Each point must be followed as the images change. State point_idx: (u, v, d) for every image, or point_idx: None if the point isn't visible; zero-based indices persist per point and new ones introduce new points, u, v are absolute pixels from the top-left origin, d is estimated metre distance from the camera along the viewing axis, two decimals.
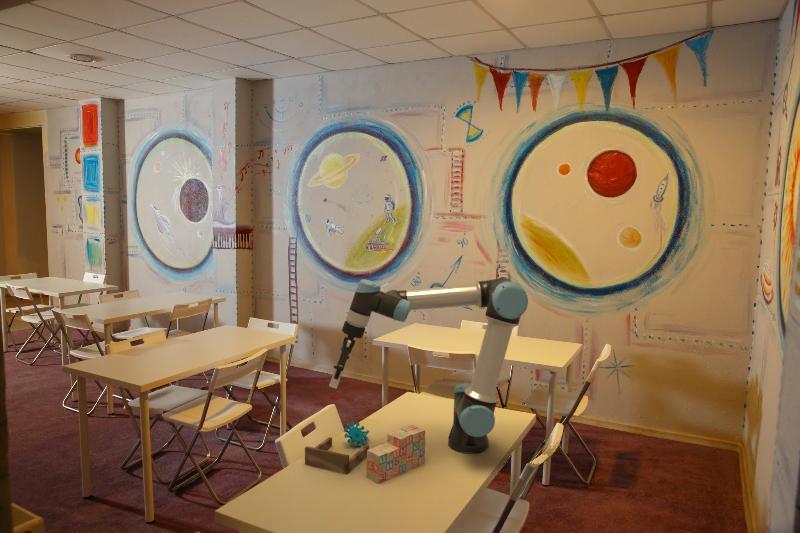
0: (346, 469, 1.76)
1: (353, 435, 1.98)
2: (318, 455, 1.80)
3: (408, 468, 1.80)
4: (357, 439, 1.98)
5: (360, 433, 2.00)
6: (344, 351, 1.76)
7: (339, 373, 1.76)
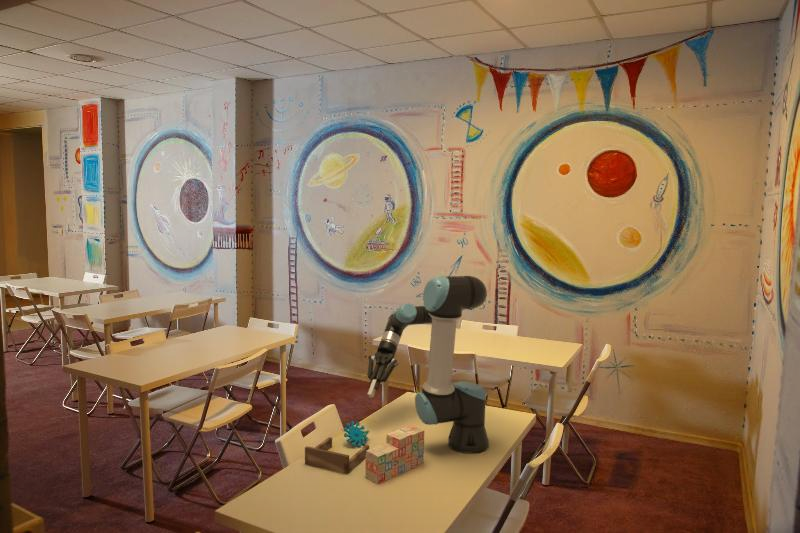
0: (346, 469, 1.76)
1: (353, 435, 1.98)
2: (318, 455, 1.80)
3: (407, 468, 1.79)
4: (356, 439, 1.98)
5: (360, 433, 2.00)
6: None
7: (370, 381, 2.13)
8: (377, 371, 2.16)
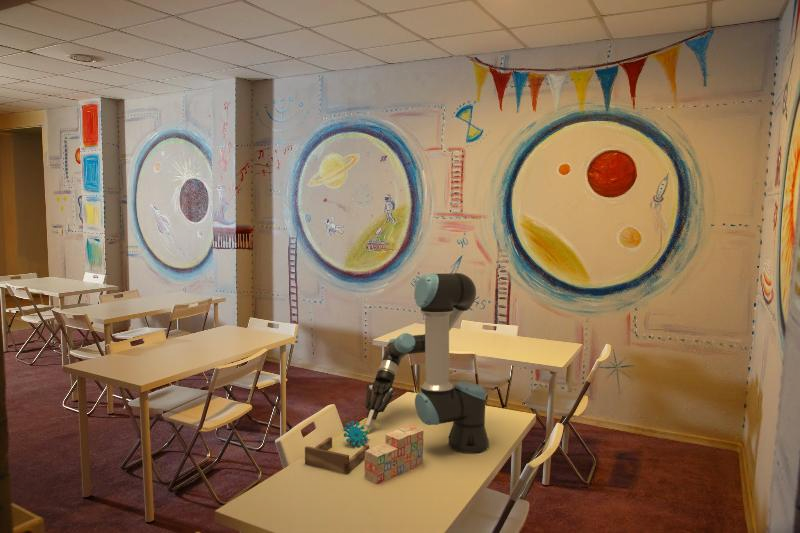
0: (346, 469, 1.76)
1: (352, 434, 1.98)
2: (318, 455, 1.80)
3: (406, 468, 1.79)
4: (356, 439, 1.98)
5: (360, 433, 2.00)
6: None
7: (368, 412, 2.13)
8: (375, 401, 2.16)
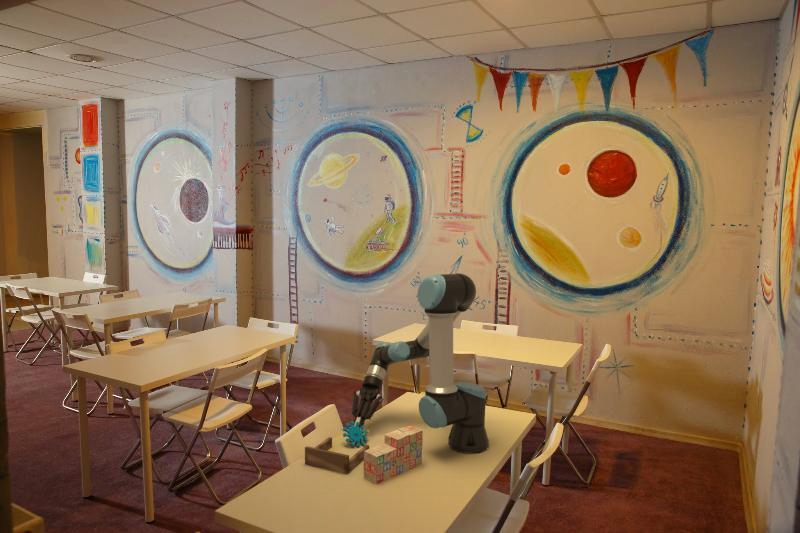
0: (346, 469, 1.76)
1: (352, 434, 1.98)
2: (318, 455, 1.80)
3: (405, 469, 1.79)
4: (356, 439, 1.98)
5: (359, 433, 2.00)
6: None
7: (354, 419, 2.06)
8: (362, 408, 2.09)
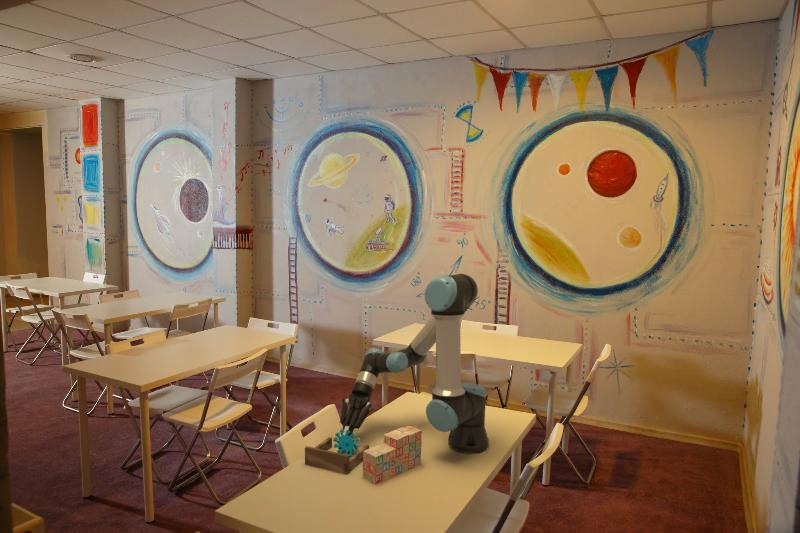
0: (346, 469, 1.76)
1: (343, 445, 1.88)
2: (318, 455, 1.80)
3: (404, 469, 1.79)
4: (347, 449, 1.88)
5: (350, 442, 1.91)
6: None
7: None
8: (351, 416, 1.99)
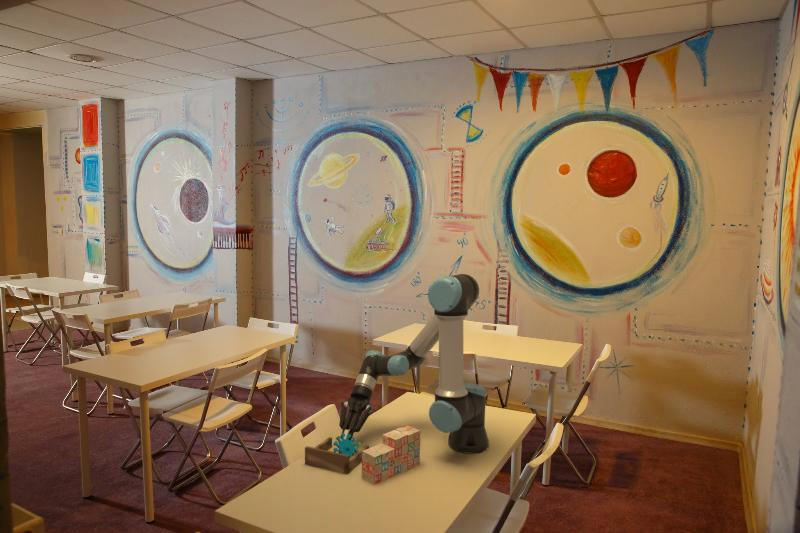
0: (346, 469, 1.76)
1: (343, 449, 1.85)
2: (318, 455, 1.80)
3: (403, 469, 1.79)
4: (347, 453, 1.85)
5: (351, 446, 1.87)
6: None
7: (342, 432, 1.92)
8: (350, 420, 1.95)
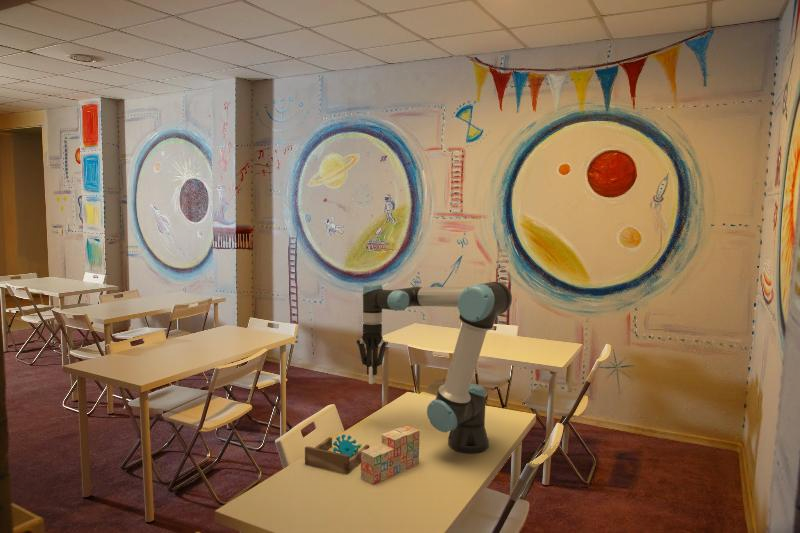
0: (346, 469, 1.76)
1: (343, 449, 1.86)
2: (318, 455, 1.80)
3: (402, 469, 1.79)
4: (347, 454, 1.85)
5: (351, 447, 1.88)
6: None
7: (367, 368, 2.10)
8: (370, 355, 2.10)
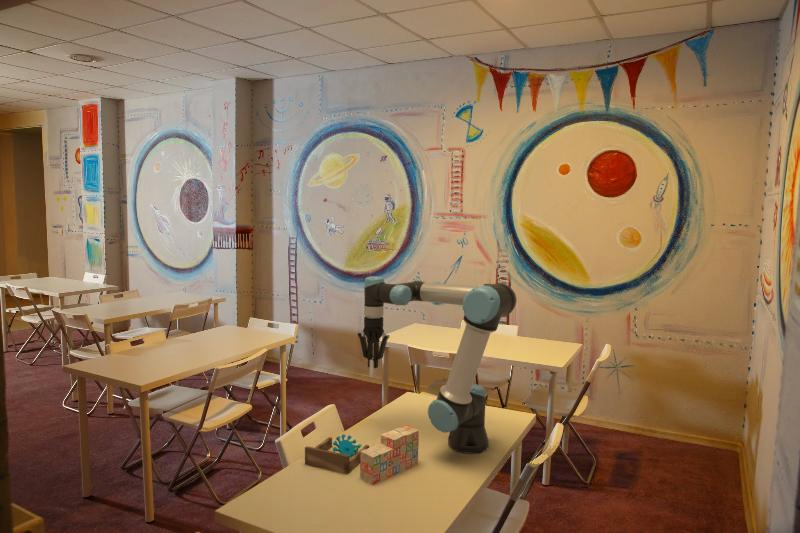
0: (346, 469, 1.76)
1: (342, 449, 1.86)
2: (318, 455, 1.80)
3: (402, 469, 1.79)
4: (346, 453, 1.85)
5: (351, 447, 1.88)
6: None
7: (368, 361, 2.10)
8: (371, 348, 2.09)
